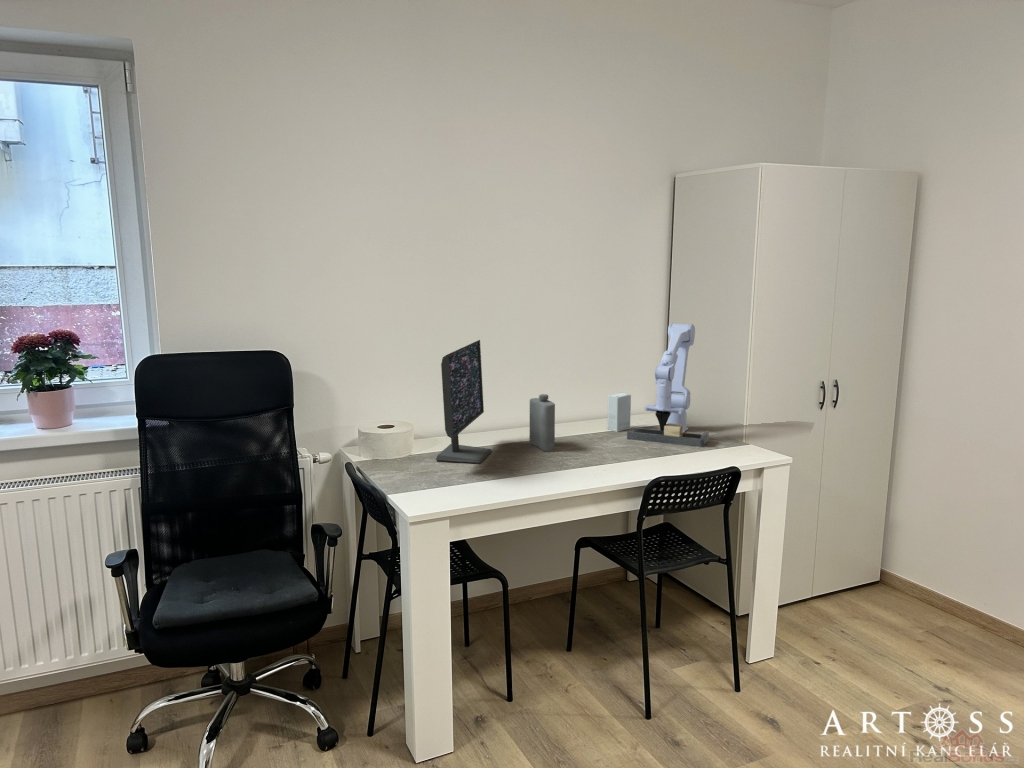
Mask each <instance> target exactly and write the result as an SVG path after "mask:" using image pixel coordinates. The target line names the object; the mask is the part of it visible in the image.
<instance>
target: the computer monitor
mask: <svg viewBox="0 0 1024 768" xmlns="http://www.w3.org/2000/svg"><path fill="white" fill-rule="evenodd" d="M481 351H482V348H481V339H478V340H476V341H474V342H472V343H470V344H467V345H466V346H463V347H460V348H459V349H457V350H454V351H452V352H450V353H447V354H446V355H444V356H443V357H442V359H441V363H440V366H441V367H440V368H441V382H442V383H441V384H442V386H441V387H442V399H443V400H442V401H443V414H444V415H443V416H444V417H443V419H444V430H445V434H446V436H447V437H449V438H450V444H449V445H447V447H446V446H445V447H446V448H444V449H443V450H442V451H440V453H438V454H437V456H436V458H435V460H436V461H437V462H443V463H445V462H446V463H459V462H462V464H476V463H479V464H480V463H482V462H483V460H484V459H485V458H486V457H487V456H488V455H489V454H490V452H492V449H491V448H487V447H486V448H485V447H479V446H472V445H464V444H459V443H460V442H459V434H461V432H462V431H464V430H465V429H466V428H467V427H468V426H470V425H471V423H473V422H474V421H476V420H477V418H479V417H480V416H481V415H482V414H483V413H484V412H485V410H484V391H483V372H482V370H483V369H482V355H481V353H482V352H481Z"/></svg>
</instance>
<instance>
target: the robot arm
mask: <svg viewBox="0 0 1024 768" xmlns="http://www.w3.org/2000/svg"><path fill="white" fill-rule="evenodd" d="M667 329H668V330H667V335H668V339H669V343H668V348H667V350H665V351H664V352H663V354H662V356H661V360H660V363H659V365H657V366H656V367H655V370H654V378H655V379H654V380H655V385H656V394H655V395H656V397H655V399H656V400H655V405H649V404H648V405H647V404H645V405H644V412H646V411H647V412H655V414H654V415H655V417H656V419H657V421H658V424H659V428H660V429H659V430H661V431H664V426H665V425H666V424H668V423H671V424H681V425H683V432H685V433H686V432H687V430H688V429H689V427H687V410H688V409H689V408H690V406H691V391H690V390H689V389H688V388H687V387H686V386H685V385H686V384H685V382H686V375H687V366H688V356H689V350H690V347H691V346H693V345H694V344H695V343H694V342H695V336H696V326H695V325H694V324H693V323H691V324H690V323H674V322H671V323H669V324H668V327H667Z"/></svg>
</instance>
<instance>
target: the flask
mask: <svg viewBox="0 0 1024 768" xmlns="http://www.w3.org/2000/svg"><path fill="white" fill-rule="evenodd" d="M555 419H556V403H554V402H552V401H551V400H549V395H548V394H545V393H542V394H539V395H538V397H531V398H529V444H530V445H531V446H534V447H536V446H537V448H539V449H540V450H541V451H542V452H553V451H555V447H556V446H555V443H556V442H555V439H556V438H555V434H556V431H555V430H556V429H555V428H556V425H555V424H556V423H555V422H556V421H555Z"/></svg>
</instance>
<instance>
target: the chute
mask: <svg viewBox="0 0 1024 768" xmlns="http://www.w3.org/2000/svg"><path fill="white" fill-rule="evenodd" d="M709 435H710V431H709V430H705V431H703V433H693V432H692V433H691V432H686V431H685V432H683V437H677V436H668V435H664V431H661V430H660V429H653V428H643V427H632V431H629V430H628V431H627V432H626V439H627V440H634V441H643V442H644V441H645V442H654V443H663V444H671V445H672V444H673V445H681V446H682V445H683V446H688V447H689V446H690V447H701V448H705V446H706V445H707V444H708V443H709V440H710V439H709Z"/></svg>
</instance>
